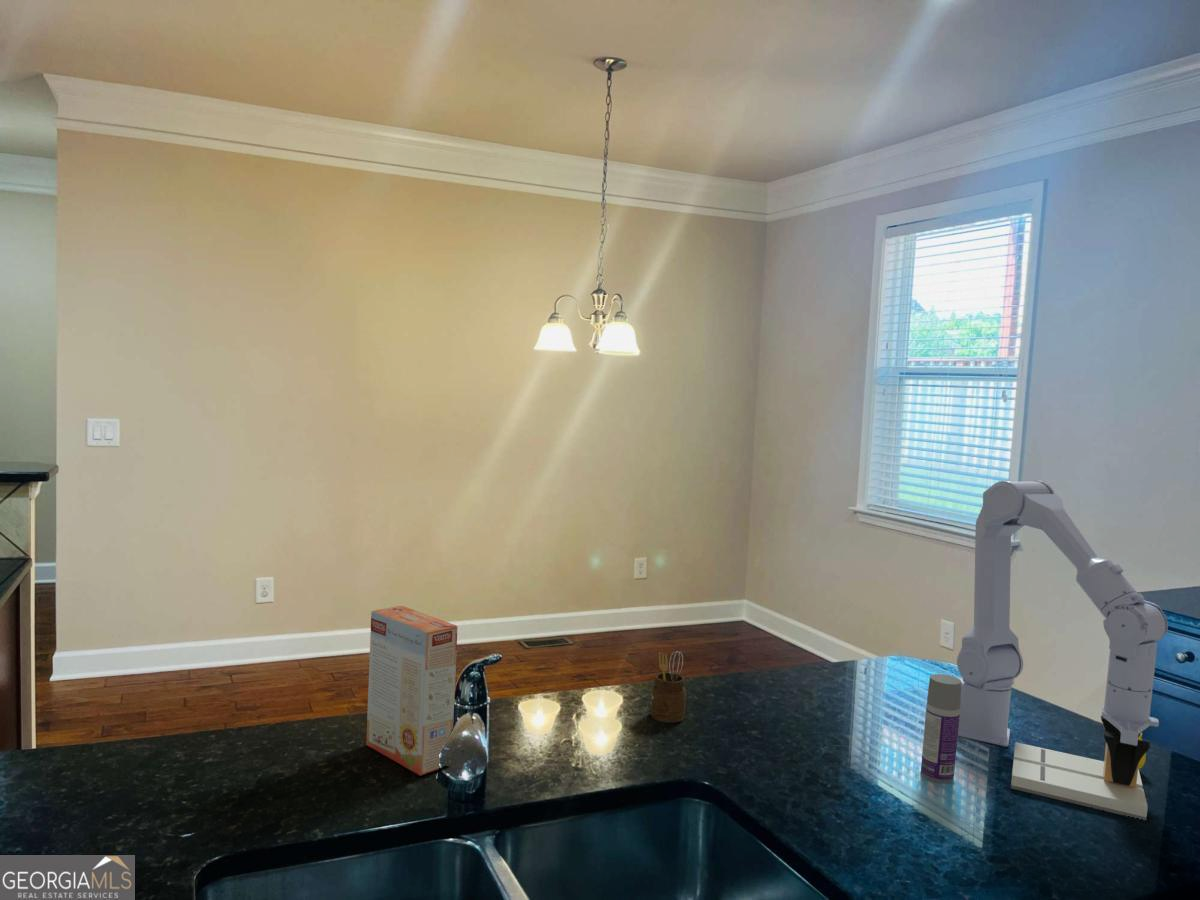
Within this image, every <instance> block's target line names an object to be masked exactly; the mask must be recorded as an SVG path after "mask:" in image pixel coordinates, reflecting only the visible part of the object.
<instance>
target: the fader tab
mask: <svg viewBox="0 0 1200 900" xmlns="http://www.w3.org/2000/svg"><path fill="white" fill-rule="evenodd" d="M1103 761H1104V767H1103V776H1104V780H1106V781H1110V782H1113V779H1112V773H1111V759H1110V752H1109V748H1108V745H1107V743H1106V742H1105V750H1104V760H1103ZM1138 764H1139V763H1138ZM1137 774H1138V766H1137V768H1136V771H1135V774H1134V777H1133V779H1132V782H1131V784H1130V785H1129V786H1132V787H1136V783H1137Z"/></svg>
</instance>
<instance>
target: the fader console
mask: <svg viewBox="0 0 1200 900" xmlns="http://www.w3.org/2000/svg"><path fill="white" fill-rule="evenodd" d="M1013 751H1014V752H1013V753H1014V754H1013V762H1012V763H1013V764H1012V772H1011V783H1010V789H1013V790H1018V791H1020V792H1024V793H1028V794H1029V793H1030V794H1032V795H1037V796H1041V797H1046V798H1050V799H1054V800H1059V801H1061V802H1065V803H1066V802H1067V803H1071V804H1074V805H1078V806H1079V805H1080V806H1084V807H1087V808H1091V807H1092V808H1091V809H1096V810H1099V811H1103V810H1104V811H1105V812H1108V813H1111V814H1116V815H1121V816H1124V815H1125V816H1124V817H1128V816H1130V817H1129V818H1132V817H1134V818H1133V819H1136V818H1139V819H1138V820H1141V819H1143V820H1142V821H1145V820H1146V821H1147V816H1148V807H1149V806H1148V801H1147V799H1146V795H1145V790H1144V788H1143V782H1142V778H1141V774H1140V769H1138V774H1137V783H1136V787H1132V786H1128V785H1124V784H1119V783H1115V782H1110V781H1106V780H1104V776H1103V767H1104V760H1098V759H1094V758H1089V757H1085V756H1080V755H1076V754H1071V753H1066V752H1061V751H1058V750H1052V749H1049V748H1044V747H1038V746H1035V745H1031V744H1025V743H1020V742H1017V741H1016V742H1015V743H1014V750H1013Z"/></svg>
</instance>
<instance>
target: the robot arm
mask: <svg viewBox="0 0 1200 900" xmlns="http://www.w3.org/2000/svg"><path fill="white" fill-rule="evenodd" d="M1024 526H1026V527H1031V528H1034V529H1037V530H1041V531H1043V532H1044V534H1045V535H1046V536H1047V537H1048V538H1049V539H1050V541H1051V542H1052V543H1053V544H1054V545H1055V547H1056V548H1058V550H1060V552H1061V553H1062V554H1063V555H1064V556H1065V557H1066V558H1067V560H1068V561H1069V562H1070V563H1071V564H1072V565H1073V566H1074V568H1075V569H1076V571H1077V572H1076V576H1075V581H1076V583H1078V585H1079V586H1080V588H1081V589H1082V590H1083V592H1084V593H1085V594H1086V596H1087V597H1088V598H1089V599H1090V601H1091V602H1092V604H1094V606H1095V607H1096V609H1097V610H1098V611H1099V612H1100V614H1101V615H1102V617H1104V618H1105V619H1103V624H1102V625H1103V628H1104V631H1105V634H1106V635H1107V637H1108V640H1109V644H1108V645H1109V646H1108V649H1109V656H1108V665H1107V666H1108V667H1107V674H1106V675H1107V676H1106V682H1105V683H1106V684H1105V695H1104V703H1103V708H1102V710H1101V715H1100V721H1101V722H1102V725H1103V727H1104V730H1103V732H1102V733H1103V737H1104V738H1103V739H1104V740H1105V744H1106V743H1107V745H1108V748H1109V752H1110V759H1111V773H1112V779H1113V782H1115V783H1119V784H1124V785H1128V786H1129V785H1130V784H1131V782H1132V779H1133V777H1134V774H1135V771H1136V768H1137V766H1138V763H1139V761H1140V760H1141V758H1142V757H1143V755H1144V754H1145V753H1146V754H1147V752H1148V751H1149V750H1150V747H1151V743H1150V741H1146V740H1143V739H1142V740H1143V741H1142V740H1138V737H1139V736H1140V734H1141V733H1142V734H1143V732H1144V731H1145V730H1146V729H1147V728H1149V727H1155V728H1157V727H1159V725H1160V724H1159V723H1160V721H1159V719H1158V718H1156V717H1153V716H1150V715H1151V706H1152V705H1151V704H1152V698H1153V697H1152V696H1153V689H1154V678H1155V670H1156V661H1157V660H1156V659H1157V650H1158V641H1159V640H1161V639H1163V638H1164V637H1165V636H1166V635H1167V632H1168V629H1169V623H1168V618H1167V616H1166V614H1165V613H1164V612H1163V609H1162V607H1161V606H1160V605H1158V604H1156V603H1154V602H1152V601H1147V600H1145V597H1144V596H1143V594H1142V593H1139V592H1137V590H1136V589H1135V588H1134V586H1132V584H1131V583H1130V582H1129V581H1128V579H1127V578H1126V576H1124V574H1123V572H1124V569H1123V567H1122V566H1121V565H1120V564H1118V563H1116V564H1114V563H1113V561H1112V560H1110V559H1105V558H1102V557H1099V556H1098V555H1097V554H1096V552H1095V551H1094V550H1093V548H1092V547H1091V545H1090V544H1089V543H1088V541H1087V539H1086V538H1085V537H1084V535H1083V534H1082V533H1081V531H1080V530H1079V528H1078V527H1077V526H1076V524H1075V523H1074V522H1073V520H1072V518H1071V517H1070V515H1068V512H1067V511H1066V510H1065V508H1064V504H1063V500H1062V498H1061V497H1060V496H1059V495H1058V494H1057V493H1055V490H1054V489H1053V488H1052V486H1051V485H1050V484H1048V483H1047V482H1045V481H1042V480H1031V481H1009V480H1001V481H996V482H995V483H994V484H992V485H991V486H990V487H989V488H987V489H986V490H985V491H983V493H982V507H981V508H980V511H979V513H978V516H977V518H976V521H975V535H974V536H975V537H974V538H975V539H974V540H975V542H974V543H975V545H974V547H975V549H974V552H975V553H974V593H973V594H974V595H973V596H974V597H973V598H974V599H973V602H974V603H973V607H974V608H973V626H972V627H970V629H969V630H968V631H967V632H966V633H965V634H964V636H963V637H962V639H961V648H960V650H959V652H958V655H957V659H956V665H957V670H958V672H959V674H960V676H961V677H958V676H957V677H956V678H958V679H960V680H961V681H962V684H961V701H960V717H959V728H958V737H961V738H962V737H963V738H967V739H969V740H970V739H971V740H975V741H979V742H983V743H984V742H985V743H988V744H991V745H992V744H993V745H996V746H997V745H998V746H1002V747H1009V742H1010V736H1011V735H1010V734H1011V729H1010V728H1009V727H1008V726H1009V725H1008V724H1009V715H1010V707H1011V706H1010V705H1011V704H1010V703H1011V695H1012V686H1013V685H1014V684H1015V683H1014V681H1015V679H1016V678H1018V677H1019V676H1020V675H1021V674H1022V673H1023V669H1024V660H1023V656H1022V654H1021V651H1020V647H1019V638H1018V636H1017V635H1016V634H1015V632H1013V631H1012V629H1011V628H1010V614H1011V610H1010V609H1011V561H1012V558H1011V556H1012V555H1011V554H1012V553H1011V552H1012V551H1011V549H1012V535H1014V534H1015V533H1016V532H1018V531H1019V530H1020V529H1022V528H1023V527H1024Z"/></svg>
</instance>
